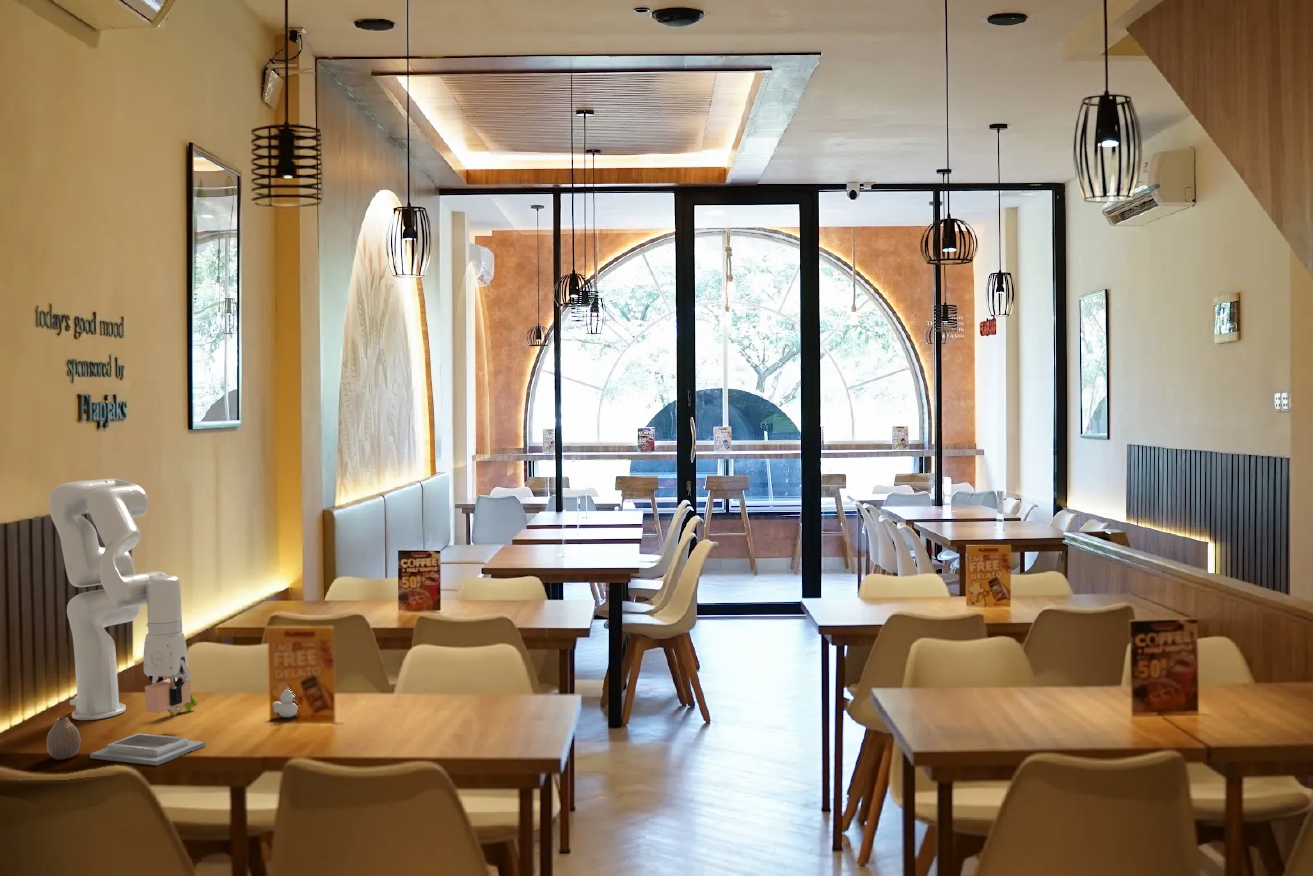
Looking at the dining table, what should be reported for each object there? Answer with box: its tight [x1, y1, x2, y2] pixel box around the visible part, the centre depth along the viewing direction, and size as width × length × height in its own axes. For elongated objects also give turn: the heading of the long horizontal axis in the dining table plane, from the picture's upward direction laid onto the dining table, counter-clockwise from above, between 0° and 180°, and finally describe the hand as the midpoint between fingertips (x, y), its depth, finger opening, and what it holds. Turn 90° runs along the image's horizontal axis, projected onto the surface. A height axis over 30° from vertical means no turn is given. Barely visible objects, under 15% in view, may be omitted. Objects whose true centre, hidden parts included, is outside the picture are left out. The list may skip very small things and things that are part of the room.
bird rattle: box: [165, 677, 199, 717], centre depth 298 cm, size 6×11×9 cm
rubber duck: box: [272, 686, 298, 718], centre depth 290 cm, size 5×7×8 cm
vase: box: [46, 716, 82, 761], centre depth 265 cm, size 7×7×9 cm
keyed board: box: [89, 732, 206, 766], centre depth 265 cm, size 20×14×2 cm
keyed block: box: [144, 677, 192, 714], centre depth 281 cm, size 4×10×6 cm, turn 157°
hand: (168, 702), depth 281 cm, fingers closed on keyed block, 4 cm apart
